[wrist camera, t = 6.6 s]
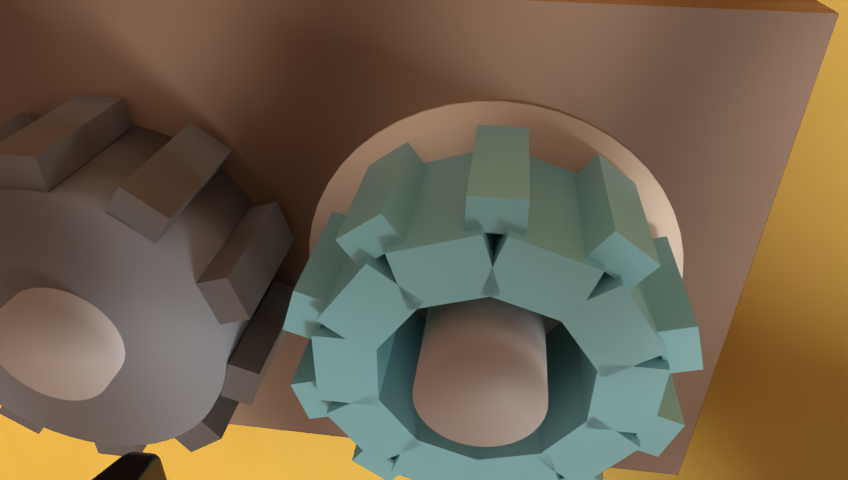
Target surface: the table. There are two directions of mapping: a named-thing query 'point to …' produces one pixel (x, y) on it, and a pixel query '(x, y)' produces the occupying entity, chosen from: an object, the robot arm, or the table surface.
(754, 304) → the table surface
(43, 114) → the gear board
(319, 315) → the teal gear
